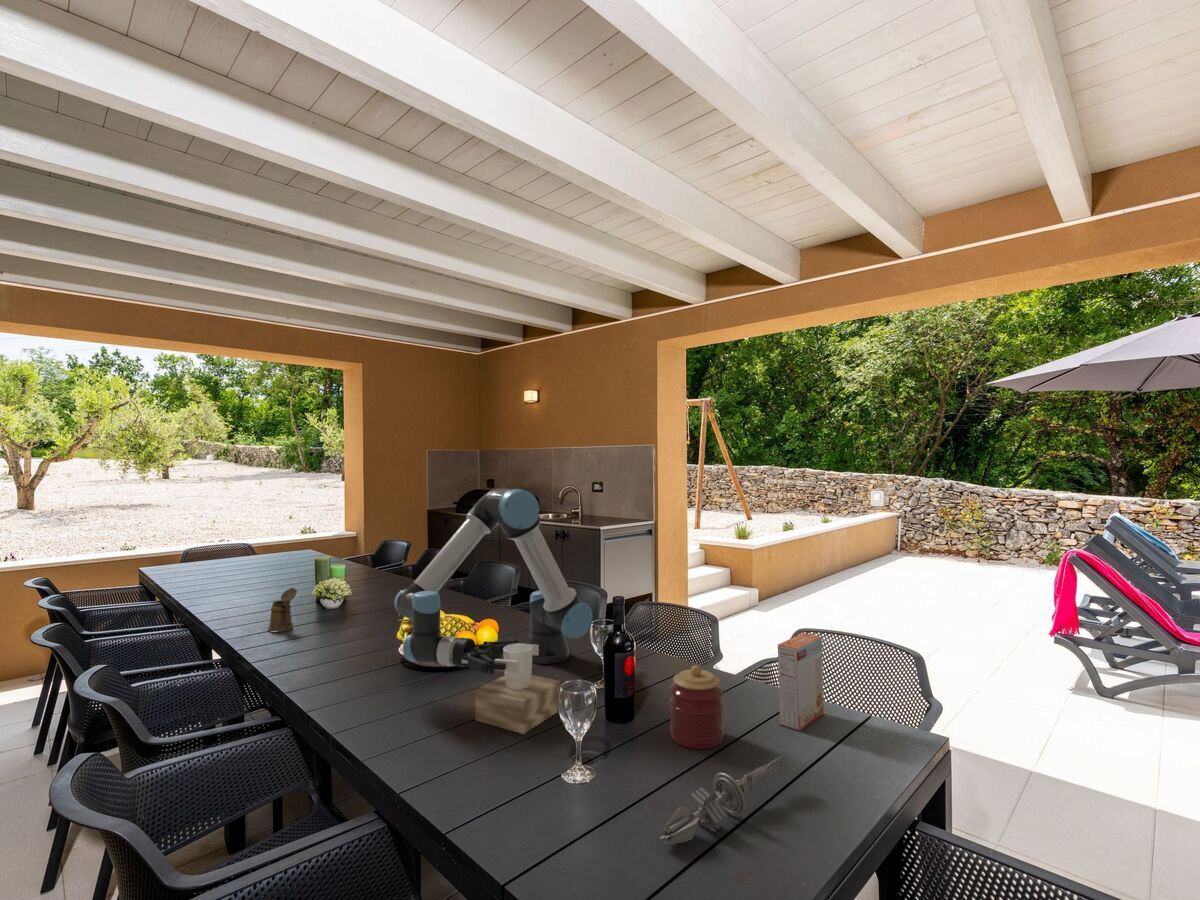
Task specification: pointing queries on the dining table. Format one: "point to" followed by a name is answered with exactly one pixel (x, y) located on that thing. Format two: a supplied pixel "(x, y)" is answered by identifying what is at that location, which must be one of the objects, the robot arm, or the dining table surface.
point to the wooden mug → (282, 612)
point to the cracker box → (800, 681)
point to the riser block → (516, 704)
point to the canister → (696, 709)
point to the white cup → (525, 665)
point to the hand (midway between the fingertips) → (528, 658)
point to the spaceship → (715, 803)
